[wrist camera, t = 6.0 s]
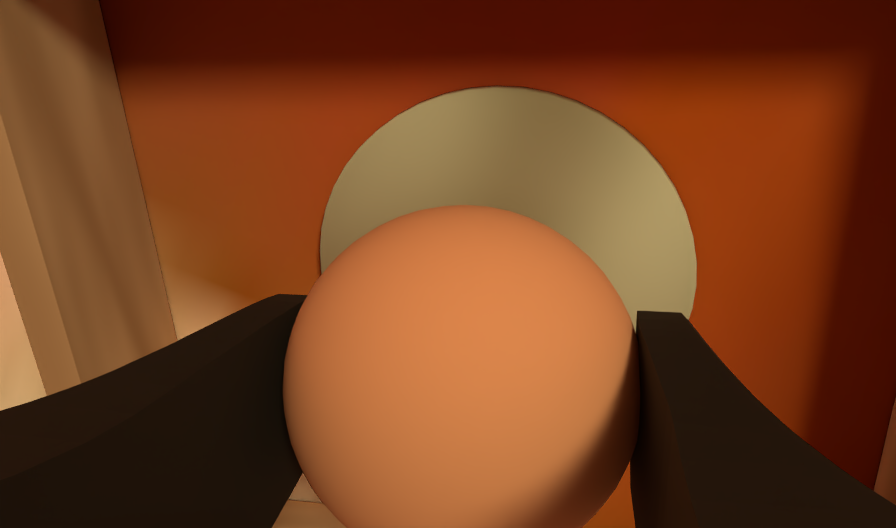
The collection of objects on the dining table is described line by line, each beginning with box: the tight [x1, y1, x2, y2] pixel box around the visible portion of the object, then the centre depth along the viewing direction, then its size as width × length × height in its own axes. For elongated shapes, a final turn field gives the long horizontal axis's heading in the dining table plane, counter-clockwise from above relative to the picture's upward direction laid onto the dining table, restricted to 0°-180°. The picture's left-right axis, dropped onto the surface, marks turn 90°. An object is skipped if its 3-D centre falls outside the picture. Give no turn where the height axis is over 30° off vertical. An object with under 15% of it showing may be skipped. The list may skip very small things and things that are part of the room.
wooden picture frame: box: [0, 0, 896, 528], centre depth 13 cm, size 16×14×3 cm
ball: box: [283, 205, 640, 528], centre depth 11 cm, size 5×5×5 cm
